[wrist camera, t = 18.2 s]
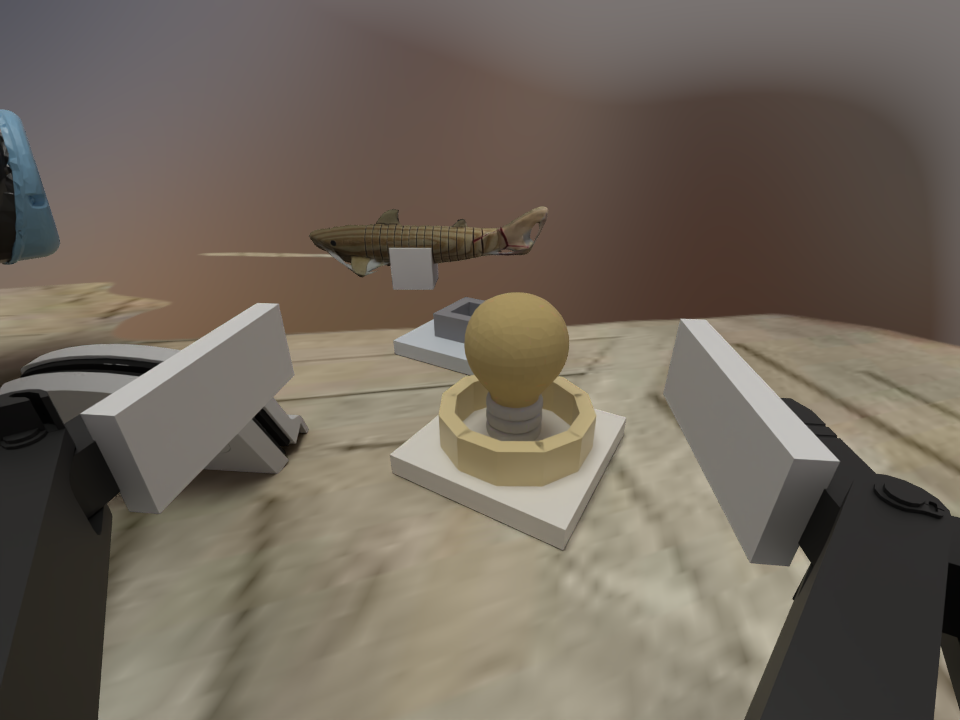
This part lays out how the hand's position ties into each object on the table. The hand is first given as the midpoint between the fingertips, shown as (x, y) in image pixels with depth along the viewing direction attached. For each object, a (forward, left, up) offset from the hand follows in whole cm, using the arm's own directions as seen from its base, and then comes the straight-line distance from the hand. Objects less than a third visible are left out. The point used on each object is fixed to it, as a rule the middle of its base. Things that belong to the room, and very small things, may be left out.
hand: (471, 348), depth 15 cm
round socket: (-4, +11, -13) cm, 18 cm away
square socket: (-16, +25, -13) cm, 32 cm away
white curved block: (-24, -1, -14) cm, 28 cm away
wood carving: (-34, +41, -14) cm, 55 cm away
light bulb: (-4, +11, -12) cm, 17 cm away
